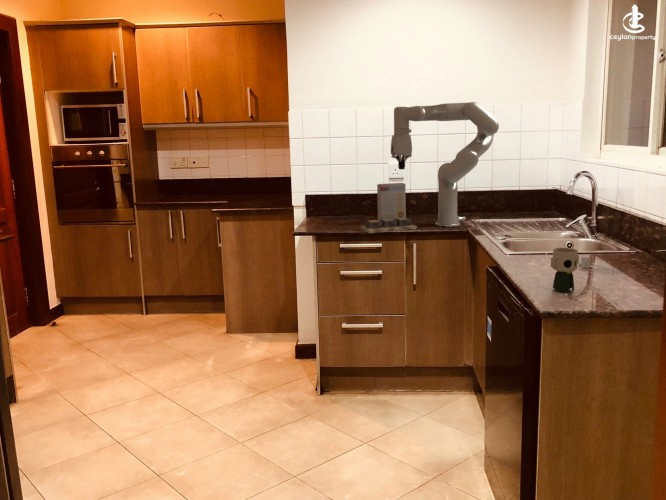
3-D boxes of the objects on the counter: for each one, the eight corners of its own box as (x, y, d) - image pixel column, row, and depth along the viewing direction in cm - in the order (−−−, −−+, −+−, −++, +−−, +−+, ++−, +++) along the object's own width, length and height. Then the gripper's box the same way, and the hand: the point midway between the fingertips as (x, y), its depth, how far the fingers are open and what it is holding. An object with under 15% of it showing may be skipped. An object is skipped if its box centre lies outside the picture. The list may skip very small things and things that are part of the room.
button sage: (404, 223, 318) (404, 217, 317) (408, 224, 314) (408, 218, 313) (396, 224, 316) (396, 218, 316) (400, 225, 312) (400, 219, 312)
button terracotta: (375, 225, 312) (375, 220, 312) (379, 227, 308) (379, 221, 308) (367, 226, 311) (367, 220, 310) (371, 227, 307) (371, 221, 306)
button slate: (390, 224, 315) (390, 218, 314) (394, 226, 311) (394, 220, 310) (382, 225, 314) (382, 219, 313) (386, 226, 310) (385, 220, 309)
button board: (406, 225, 323) (406, 216, 322) (417, 228, 311) (417, 220, 311) (359, 229, 314) (359, 220, 313) (369, 233, 303) (368, 224, 302)
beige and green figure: (558, 295, 189) (560, 253, 187) (541, 290, 196) (543, 249, 193) (585, 291, 194) (587, 250, 191) (568, 285, 200) (570, 246, 197)
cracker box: (401, 221, 336) (401, 182, 332) (406, 223, 331) (406, 183, 326) (377, 223, 333) (376, 183, 329) (381, 224, 327) (380, 184, 323)
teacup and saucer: (578, 265, 230) (579, 254, 229) (601, 267, 225) (601, 256, 224) (569, 269, 223) (570, 258, 222) (592, 272, 218) (593, 261, 217)
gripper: (411, 131, 317) (411, 168, 321) (384, 132, 312) (385, 169, 316) (418, 131, 310) (418, 169, 314) (391, 132, 305) (391, 170, 309)
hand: (401, 169), depth 315 cm, fingers closed
